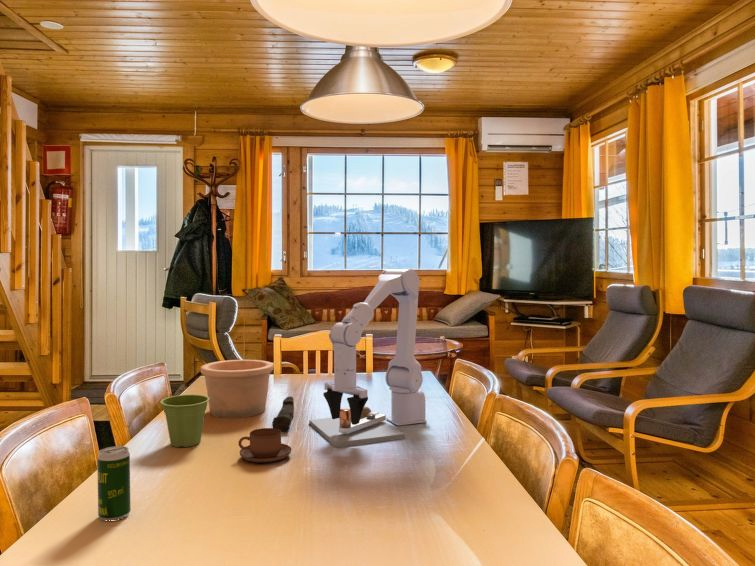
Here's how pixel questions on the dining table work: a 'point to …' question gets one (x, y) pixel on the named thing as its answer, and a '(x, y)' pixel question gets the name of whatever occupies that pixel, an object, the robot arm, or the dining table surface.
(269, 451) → the cup and saucer
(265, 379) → the pottery
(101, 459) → the beer can
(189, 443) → the plant pot
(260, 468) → the dining table surface
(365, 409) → the brown sphere
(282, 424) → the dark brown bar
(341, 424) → the lever
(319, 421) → the flat white platform
